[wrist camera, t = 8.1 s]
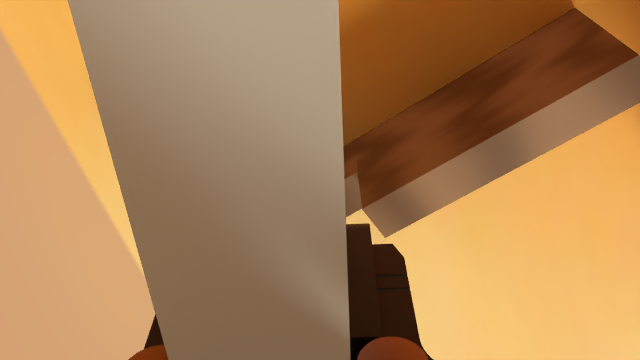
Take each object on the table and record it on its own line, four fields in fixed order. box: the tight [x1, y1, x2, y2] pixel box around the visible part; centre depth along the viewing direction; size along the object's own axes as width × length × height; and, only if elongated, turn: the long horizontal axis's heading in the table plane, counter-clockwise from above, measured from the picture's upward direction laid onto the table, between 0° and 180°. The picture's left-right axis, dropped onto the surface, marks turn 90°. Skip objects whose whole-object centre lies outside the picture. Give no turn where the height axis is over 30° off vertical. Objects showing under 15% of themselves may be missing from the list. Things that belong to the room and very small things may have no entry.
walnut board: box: [343, 8, 640, 238], centre depth 35 cm, size 26×2×8 cm, turn 125°
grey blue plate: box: [68, 0, 351, 360], centre depth 15 cm, size 18×2×14 cm, turn 3°
